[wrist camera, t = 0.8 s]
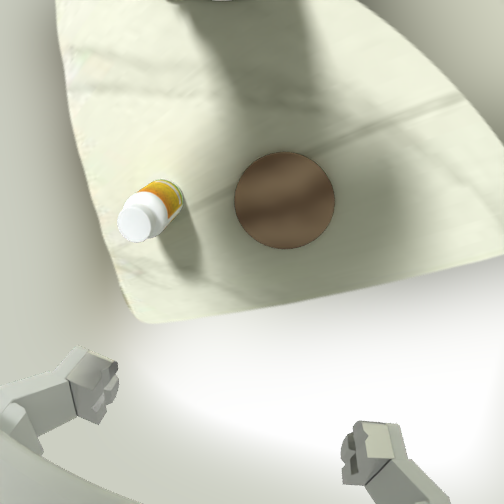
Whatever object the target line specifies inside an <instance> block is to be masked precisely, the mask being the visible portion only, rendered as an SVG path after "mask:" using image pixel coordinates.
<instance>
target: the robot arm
mask: <svg viewBox="0 0 504 504" xmlns="http://www.w3.org/2000/svg"><path fill="white" fill-rule="evenodd" d="M214 1H230V0H214ZM117 370H118V363H117V362H116V361H114V360H112V359H109V358H107V357H104V356H102V355H100V354H98V353H96V352H93V351H91V350H88V349H86V348H84V347H82V346H79V345H78V346H76V347H74V348H73V349H72V351H71V352H70V353H69V354H68V355H67V356H66V357H65V358H64V360H63V361H62V362H61V363H60V364H59V365H58V367H57V368H56V369H55V370H54V371H53V372H50V371H47V372H44V373H41V374H38V375H34V376H31V377H28V378H24V379H21V380H18V381H14V382H11V383H7V384H4V385H1V386H0V504H142V503H139V502H137V501H134V500H132V499H129V498H126V497H124V496H121V495H119V494H116V493H114V492H111V491H109V490H107V489H104V488H102V487H100V486H98V485H95V484H93V483H91V482H89V481H87V480H85V479H83V478H81V477H79V476H77V475H75V474H73V473H71V472H69V471H67V470H65V469H63V468H61V467H59V466H58V465H55V464H54V463H52V462H50V461H49V460H47V459H45V458H44V457H42V456H41V455H42V454H43V452H44V451H43V448H42V446H41V444H40V442H39V440H38V436H40V435H42V434H45V433H47V432H49V431H50V430H52V429H54V428H56V427H58V426H60V425H62V424H64V423H66V422H68V421H70V420H72V419H74V418H76V417H77V416H79V417H81V418H83V419H86V420H88V421H91V422H93V423H95V424H98V425H99V423H100V422H101V420H102V418H103V417H104V415H105V414H106V412H107V411H106V405H108V404H110V403H112V402H113V400H114V399H115V397H116V394H117V391H118V386H119V379H118V377H117V376H116V374H115V373H116V372H117ZM341 459H342V461H343V462H344V463H345V466H344V467H343V468H342V479H343V484H346V485H362V486H365V488H366V490H367V491H368V493H369V494H370V496H371V497H372V499H373V500H374V502H375V503H376V504H451V503H450V499H449V497H448V496H447V495H446V494H445V493H444V492H443V491H442V490H441V489H440V488H439V487H438V486H437V485H436V484H435V483H434V482H433V481H432V480H431V479H430V478H429V477H428V476H427V475H426V474H425V473H424V472H423V471H422V470H421V469H420V468H419V467H418V466H417V465H416V464H415V462H414V461H413V460H412V459H408V457H407V453H406V449H405V445H404V441H403V437H402V433H401V429H400V426H399V425H398V424H391V423H380V422H367V421H358V422H356V423H355V425H354V426H353V432H352V433H350V434H348V435H347V436H346V438H345V439H344V441H343V444H342V447H341Z"/></svg>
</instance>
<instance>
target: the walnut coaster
mask: <svg viewBox="0 0 504 504" xmlns="http://www.w3.org/2000/svg"><path fill="white" fill-rule="evenodd" d="M234 203H235V210H236V214H237V217H238V220H239V222H240V224H241V225H242V227H243V228H244V230H245V231H246V232H247V233H248V234H249V235H250V236H251V237H252V238H254V239H255V240H256V241H258V242H260V243H262V244H264V245H266V246H269V247H273V248H278V249H292V248H297V247H301V246H304V245H306V244H308V243H310V242H312V241H313V240H315V239H316V238H317V237H319V236H320V235H321V234H322V233H323V231H324V230H325V229H326V228H327V226H328V224H329V223H330V220H331V218H332V215H333V211H334V205H335V198H334V191H333V188H332V185H331V183H330V180H329V179H328V177H327V175H326V174H325V172H324V171H323V170H322V169H321V167H320V166H318V165H317V164H316V163H315V162H314V161H312V160H311V159H309V158H307V157H305V156H302V155H300V154H296V153H291V152H277V153H272V154H269V155H266V156H264V157H261V158H259V159H258V160H256V161H255V162H253V163H252V164H251V165H250V166H249V167H248V168H247V169H246V170H245V172H244V173H243V175H242V176H241V178H240V180H239V182H238V184H237V187H236V191H235V200H234Z"/></svg>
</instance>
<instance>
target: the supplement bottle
mask: <svg viewBox="0 0 504 504" xmlns="http://www.w3.org/2000/svg"><path fill="white" fill-rule="evenodd" d="M182 206H183V195H182V192H181V190H180V188H179V187H178V186H177V185H176V184H175V183H174V182H172V181H170V180H167V179H158V180H155V181H153V182H151V183H150V184H148V185H147V186H145V187H144V188H142V189H141V190H139V191H138V192H136V193H135V194H133V195H132V196H131V197H129V198H128V200H127V201H126V202H125V204H124V207H123V210H122V211H121V212H120V214H119V216H118V221H117V223H118V228H119V231H120V233H121V234H122V235H123V236H124V237H125V238H126V239H127V240H129V241H131V242H136V243H138V242H142V241H145V240H146V239H147V238H153V237H155V236H157V235H159V234H160V233H161V232H162V231H163V230H164V229H165V228H166V227H167V226H168V224H169V223H170V222H171V221H172V220H173V219H174V218H175V217H176V216H177V215H178V213H179V212H180V211H181V209H182Z"/></svg>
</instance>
